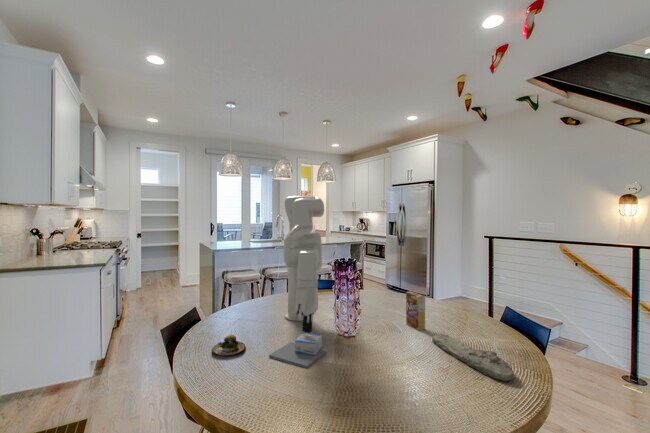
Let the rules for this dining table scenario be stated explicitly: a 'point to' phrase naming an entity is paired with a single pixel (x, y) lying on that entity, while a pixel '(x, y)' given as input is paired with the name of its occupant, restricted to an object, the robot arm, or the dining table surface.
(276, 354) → the mat
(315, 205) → the robot arm
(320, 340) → the medicine box
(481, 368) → the long grey stone
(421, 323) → the candy box
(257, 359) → the dining table surface
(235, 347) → the burger
